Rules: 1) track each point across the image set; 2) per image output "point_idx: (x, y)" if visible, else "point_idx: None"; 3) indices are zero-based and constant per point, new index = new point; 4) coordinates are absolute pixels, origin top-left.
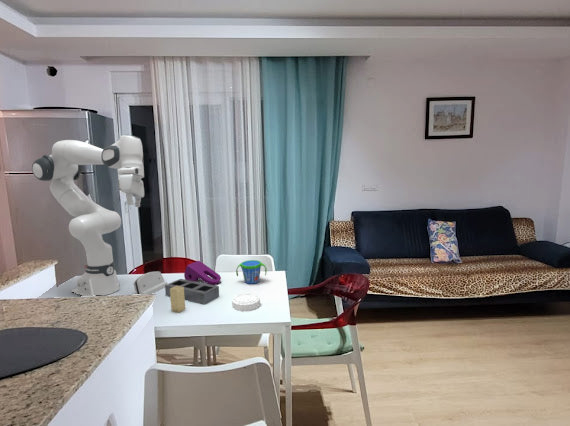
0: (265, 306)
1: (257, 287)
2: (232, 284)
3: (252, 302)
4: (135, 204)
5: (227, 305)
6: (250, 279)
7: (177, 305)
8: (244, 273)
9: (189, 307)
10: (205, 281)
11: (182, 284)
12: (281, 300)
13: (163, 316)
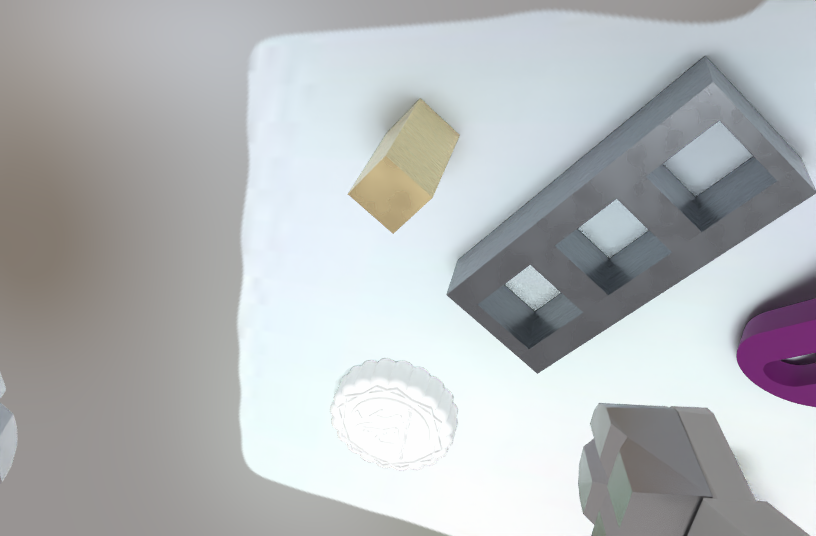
0: None
1: None
2: None
3: (344, 436)
4: (616, 460)
5: (416, 345)
6: None
7: (376, 149)
8: None
9: (444, 189)
10: (764, 318)
11: (667, 199)
12: (408, 514)
13: (361, 57)
